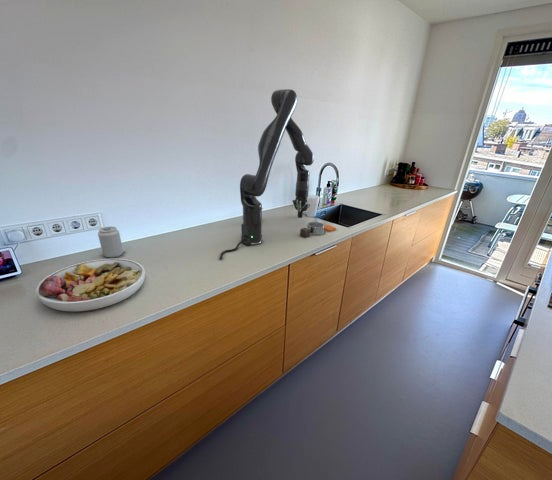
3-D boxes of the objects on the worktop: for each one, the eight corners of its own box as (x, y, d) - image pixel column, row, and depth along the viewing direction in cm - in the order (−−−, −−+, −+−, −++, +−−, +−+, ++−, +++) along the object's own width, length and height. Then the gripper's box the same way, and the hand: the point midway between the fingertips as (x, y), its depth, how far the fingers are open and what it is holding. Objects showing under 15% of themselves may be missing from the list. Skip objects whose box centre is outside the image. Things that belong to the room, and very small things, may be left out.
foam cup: (313, 218, 190) (315, 199, 184) (301, 215, 194) (303, 196, 188) (320, 215, 197) (322, 196, 192) (308, 212, 201) (309, 194, 196)
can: (120, 249, 128) (115, 224, 123) (126, 255, 124) (120, 229, 118) (101, 254, 123) (94, 227, 118) (106, 260, 119) (99, 233, 113)
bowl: (125, 262, 118) (121, 245, 114) (162, 290, 101) (159, 270, 98) (30, 289, 96) (21, 269, 93) (57, 330, 80) (48, 307, 76)
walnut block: (305, 237, 157) (305, 230, 155) (299, 235, 159) (300, 228, 158) (310, 236, 160) (310, 229, 158) (304, 234, 162) (305, 227, 160)
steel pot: (315, 236, 160) (316, 228, 158) (303, 231, 166) (303, 223, 164) (327, 232, 167) (328, 225, 165) (315, 227, 173) (315, 220, 171)
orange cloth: (329, 231, 169) (329, 229, 168) (320, 228, 173) (320, 226, 172) (335, 229, 172) (336, 227, 172) (326, 226, 177) (327, 224, 176)
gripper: (289, 186, 166) (287, 215, 174) (305, 191, 158) (303, 221, 165) (298, 185, 171) (296, 213, 178) (315, 190, 163) (312, 219, 170)
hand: (299, 217), depth 172 cm, fingers closed
